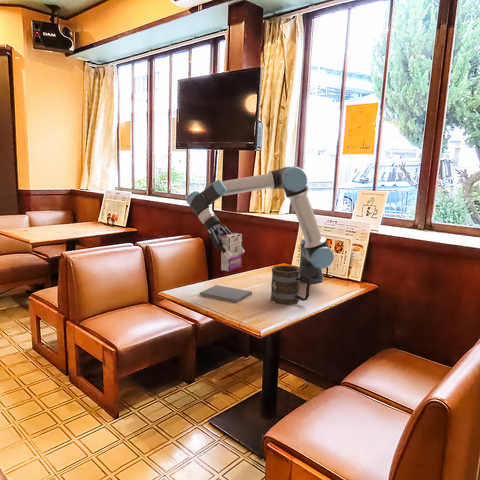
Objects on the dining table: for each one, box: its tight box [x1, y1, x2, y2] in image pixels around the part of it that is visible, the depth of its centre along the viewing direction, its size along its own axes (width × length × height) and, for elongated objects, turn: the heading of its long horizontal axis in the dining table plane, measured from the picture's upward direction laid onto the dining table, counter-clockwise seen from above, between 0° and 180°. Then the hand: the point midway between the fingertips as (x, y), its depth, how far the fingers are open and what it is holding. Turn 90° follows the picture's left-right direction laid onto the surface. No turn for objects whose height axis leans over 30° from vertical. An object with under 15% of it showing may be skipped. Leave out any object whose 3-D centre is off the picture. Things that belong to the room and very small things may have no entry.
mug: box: [270, 265, 312, 306], centre depth 186 cm, size 20×14×15 cm
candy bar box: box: [220, 232, 243, 272], centre depth 191 cm, size 11×5×16 cm, turn 148°
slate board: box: [199, 284, 253, 304], centre depth 194 cm, size 20×15×2 cm
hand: (236, 255), depth 190 cm, fingers closed on candy bar box, 11 cm apart
